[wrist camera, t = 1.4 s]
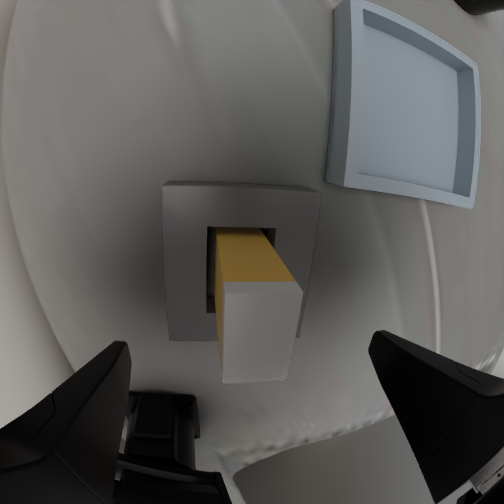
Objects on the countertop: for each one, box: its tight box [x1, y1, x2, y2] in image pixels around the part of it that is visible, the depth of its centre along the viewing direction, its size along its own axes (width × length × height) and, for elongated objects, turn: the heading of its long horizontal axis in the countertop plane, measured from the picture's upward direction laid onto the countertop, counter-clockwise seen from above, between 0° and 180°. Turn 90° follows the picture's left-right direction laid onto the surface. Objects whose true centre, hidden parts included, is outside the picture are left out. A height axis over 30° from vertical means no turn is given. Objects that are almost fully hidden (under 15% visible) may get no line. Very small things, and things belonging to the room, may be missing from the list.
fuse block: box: [162, 182, 321, 341], centre depth 16 cm, size 9×8×2 cm
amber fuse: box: [214, 227, 303, 384], centre depth 13 cm, size 4×2×8 cm, turn 176°
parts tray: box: [325, 0, 481, 209], centre depth 14 cm, size 12×12×2 cm
